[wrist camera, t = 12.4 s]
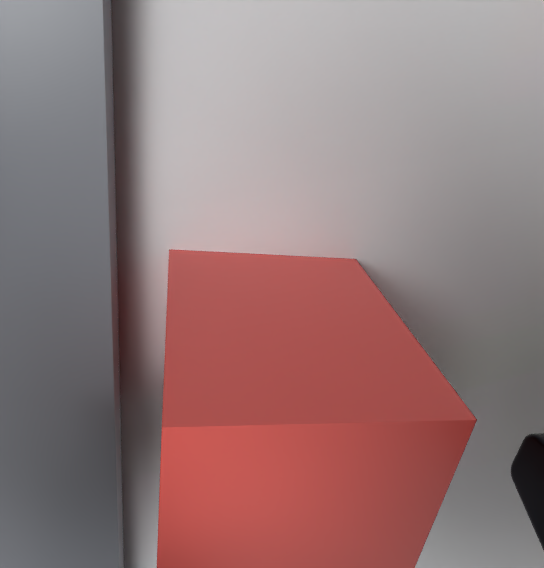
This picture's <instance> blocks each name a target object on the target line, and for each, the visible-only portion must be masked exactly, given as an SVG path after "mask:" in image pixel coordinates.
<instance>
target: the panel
mask: <svg viewBox="0 0 544 568" xmlns="http://www.w3.org/2000/svg"><path fill="white" fill-rule="evenodd" d="M0 568H124V549H123V504H122V460H121V415H120V371H119V326H118V282H117V237H116V193H115V148H114V104H113V59H112V15H111V0H0Z"/></svg>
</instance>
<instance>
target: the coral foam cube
mask: <svg viewBox="0 0 544 568" xmlns="http://www.w3.org/2000/svg"><path fill="white" fill-rule="evenodd" d="M476 421H477V419H476V418H475V417H474V415H473V414H472V413H471V411H470V410H469V409H468V407H467V406H466V405H465V403H464V402H463V401H462V399H461V398H460V397H459V395H458V394H457V393H456V391H455V390H454V389H453V387H452V386H451V385H450V383H449V382H448V381H447V379H446V378H445V377H444V375H443V374H442V373H441V371H440V370H439V369H438V368H437V366H436V365H435V364H434V362H433V361H432V360H431V358H430V357H429V356H428V354H427V353H426V352H425V350H424V349H423V348H422V346H421V345H420V344H419V342H418V341H417V340H416V338H415V337H414V336H413V334H412V333H411V332H410V330H409V329H408V328H407V326H406V325H405V324H404V322H403V321H402V320H401V318H400V317H399V316H398V314H397V313H396V312H395V310H394V309H393V308H392V307H391V305H390V304H389V303H388V301H387V300H386V299H385V297H384V296H383V295H382V293H381V292H380V291H379V289H378V288H377V287H376V285H375V284H374V283H373V281H372V280H371V279H370V277H369V276H368V275H367V273H366V272H365V271H364V269H363V268H362V267H361V265H360V264H359V263H358V261H357V260H356V259H345V258H325V257H305V256H286V255H266V254H247V253H227V252H208V251H188V250H169V268H168V292H167V316H166V340H165V364H164V387H163V411H162V437H161V465H160V493H159V520H158V548H157V568H415V565H416V563H417V561H418V558H419V556H420V553H421V551H422V549H423V546H424V544H425V542H426V539H427V537H428V535H429V532H430V530H431V527H432V525H433V523H434V520H435V518H436V516H437V513H438V511H439V509H440V506H441V504H442V501H443V499H444V497H445V494H446V492H447V490H448V487H449V485H450V482H451V480H452V478H453V475H454V473H455V471H456V468H457V466H458V464H459V461H460V459H461V456H462V454H463V452H464V449H465V447H466V445H467V442H468V440H469V437H470V435H471V433H472V430H473V428H474V426H475V423H476Z"/></svg>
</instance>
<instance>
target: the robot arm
mask: <svg viewBox="0 0 544 568" xmlns="http://www.w3.org/2000/svg"><path fill="white" fill-rule="evenodd" d="M511 476H512V479H513V482H514V484H515V486H516V489H517V491H518V493H519V495H520V498H521V500H522V502H523V504H524V507H525V509H526V511H527V514H528V516H529V518H530V520H531V523H532V525H533V527H534V529H535V532H536V534H537V536H538V538H539V541H540V543H541V545H542V548H543V550H544V433H543V434H529V435H528V436H526V437H525V439H524V440H523V442H522V444H521V446H520V448H519V450H518V453H517V455H516V457H515V459H514V461H513V463H512V465H511Z"/></svg>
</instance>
